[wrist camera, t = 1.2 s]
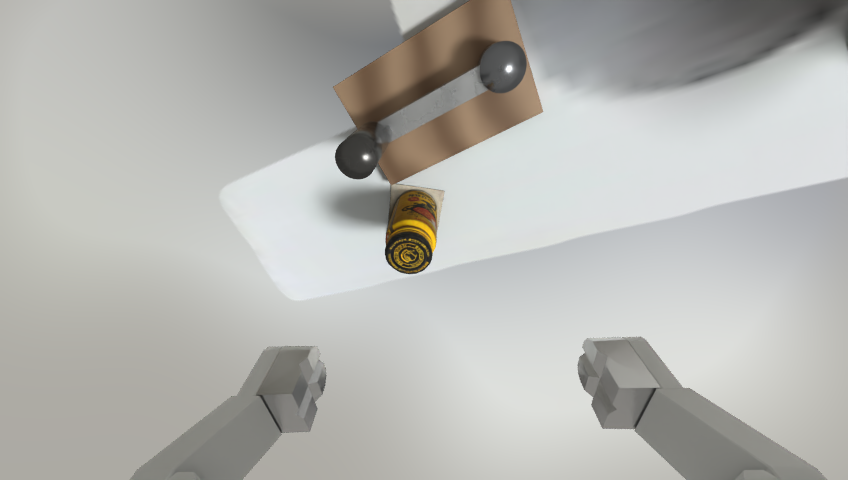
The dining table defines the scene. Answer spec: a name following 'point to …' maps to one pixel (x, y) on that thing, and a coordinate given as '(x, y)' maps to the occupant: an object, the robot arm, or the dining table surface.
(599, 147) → the dining table surface
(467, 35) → the board
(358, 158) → the lever
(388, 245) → the condiment
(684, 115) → the dining table surface
